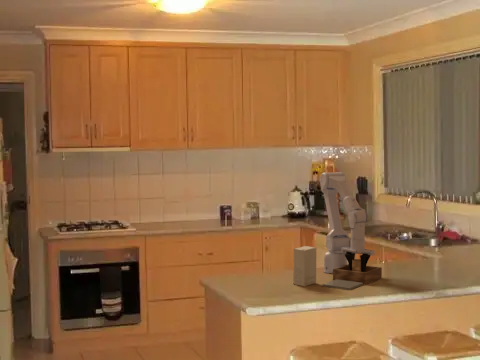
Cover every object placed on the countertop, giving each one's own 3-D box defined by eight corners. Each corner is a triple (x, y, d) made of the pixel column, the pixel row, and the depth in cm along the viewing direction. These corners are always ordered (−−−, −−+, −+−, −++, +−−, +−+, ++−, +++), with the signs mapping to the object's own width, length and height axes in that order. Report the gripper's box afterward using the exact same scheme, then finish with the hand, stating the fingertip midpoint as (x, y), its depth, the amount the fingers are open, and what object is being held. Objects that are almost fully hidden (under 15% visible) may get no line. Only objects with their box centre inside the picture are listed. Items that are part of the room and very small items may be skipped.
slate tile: (322, 286, 292) (322, 284, 292) (336, 281, 302) (336, 279, 302) (349, 290, 285) (349, 287, 285) (363, 284, 295) (363, 282, 295)
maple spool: (350, 274, 306) (350, 260, 305) (354, 272, 309) (355, 258, 309) (359, 275, 303) (360, 261, 303) (364, 274, 307) (364, 259, 306)
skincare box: (305, 281, 302) (305, 245, 301) (317, 283, 298) (317, 247, 297) (292, 284, 296) (292, 248, 295) (304, 286, 292) (304, 249, 291)
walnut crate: (332, 279, 304) (332, 269, 304) (349, 274, 317) (349, 263, 316) (365, 284, 296) (366, 273, 295) (381, 278, 308) (381, 267, 308)
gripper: (337, 238, 306) (337, 270, 307) (369, 241, 298) (369, 274, 299) (345, 236, 312) (345, 267, 313) (376, 239, 303) (376, 271, 304)
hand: (357, 270), depth 306 cm, fingers closed on maple spool, 4 cm apart
